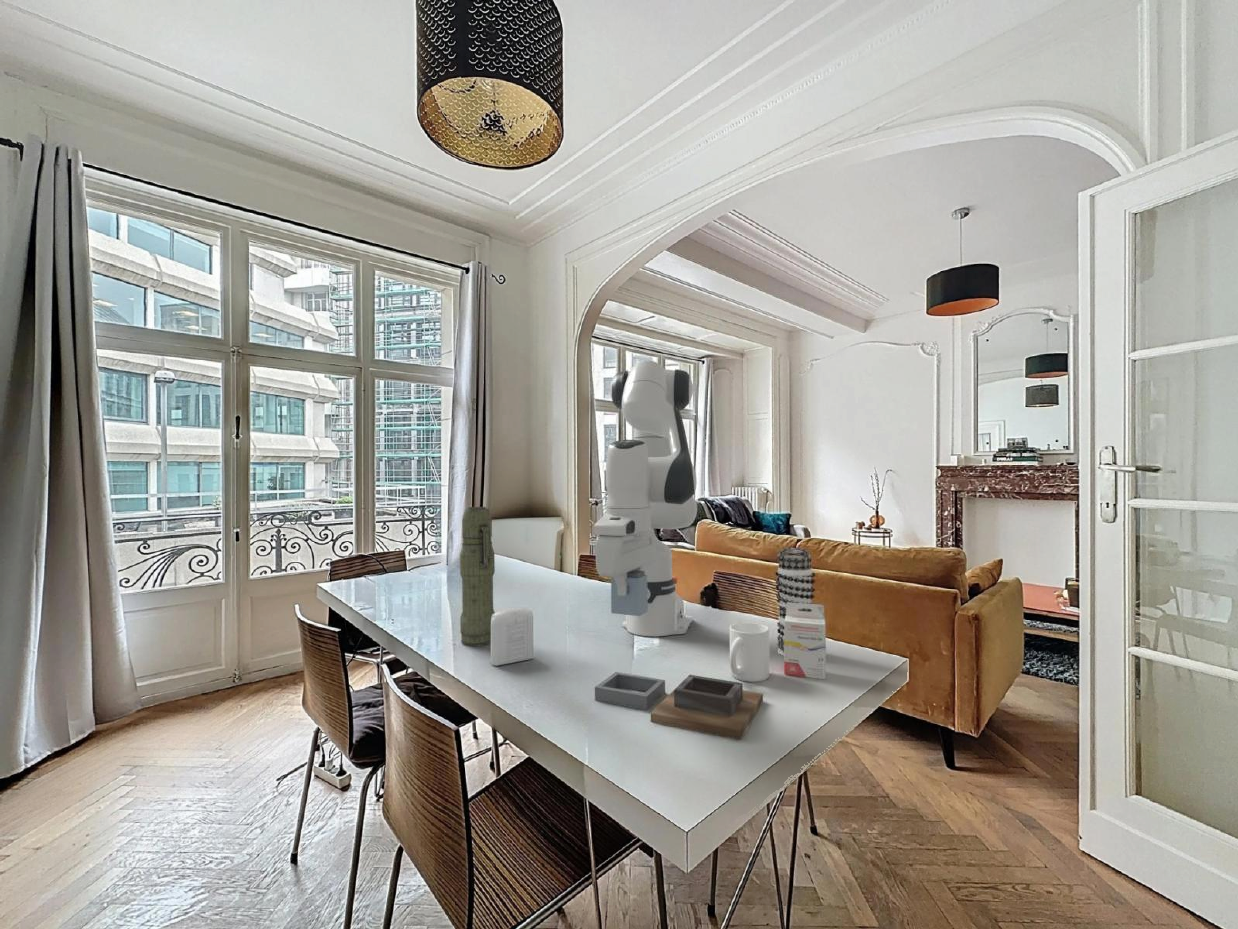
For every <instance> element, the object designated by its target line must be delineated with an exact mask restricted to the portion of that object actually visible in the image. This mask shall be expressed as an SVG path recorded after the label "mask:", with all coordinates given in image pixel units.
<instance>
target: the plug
mask: <svg viewBox="0 0 1238 929" xmlns="http://www.w3.org/2000/svg"><path fill="white" fill-rule="evenodd" d="M626 583H627V585H629V593H628V594H627V595H625V596H619V595H618V593H617V585H616V582H615V580H614V577H610V594H611V596H610V600H611V602H610V604H611V606H610V608H611V614H614V615H615V614H616V615H618V614H619V615H623V616H624V615H625V616H626V615H632V616H641V615H642V614H644V613H646V612H648V598H647V575H645V572H644V571H636V570H632V571H629V572H627V578H626Z"/></svg>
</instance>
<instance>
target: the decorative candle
mask: <svg viewBox="0 0 1238 929" xmlns="http://www.w3.org/2000/svg"><path fill="white" fill-rule="evenodd" d="M776 556H777V557H778V566H777V572H775V576H776V579H775V583H776V585H775V590H776V591H778V592H777V593H776V598H777V600H776V604H777V605H778V610H779V614H778V622H777V633H778V634H779V635H778V636H777V641H778V642H777V647H778V649H777V652H778V653H777V654H779V655H780V654H781V655H780V656H782V655H783V657H784V622H785V616H786V603H787V602H790V603H804V604H815V603H814V602H813V601H812V600H813V599H815V598H816V596H815V594H813V592H815V591H816V589H815V588H814V587H813V586H812V585H814V584H815V583H816V580H815V579H814V577H816V573H815V572H813V568H812V557H813V556H812V554H810V553H809V551H808V550H807V549H806V548H802V547H784V548H782V549H781V550H780V551H779V553H777V554H776ZM798 610H799V611H805V612H811V611H812V610H811V609H807V608H805V607H804V608H799V609H798Z"/></svg>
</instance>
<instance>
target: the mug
mask: <svg viewBox="0 0 1238 929" xmlns="http://www.w3.org/2000/svg"><path fill="white" fill-rule="evenodd" d="M770 669H771V667H770V629H769V627H768V626H767V625H765V624H761V623H756V622H736V623H733V624H730V625H729V671H730V674H731V676H732V677H733V678H734V679H736V680H738V681H742V682H748V683H760V682H763V681H766V680H767V679H768V678H769V677H770V671H771V670H770Z"/></svg>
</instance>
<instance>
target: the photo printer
mask: <svg viewBox="0 0 1238 929" xmlns="http://www.w3.org/2000/svg"><path fill="white" fill-rule="evenodd" d="M532 659H534V613H533V611H532V609H530V608H528V607H527V608H526V607H519V606H518V607H517V606H516V607H508V608H504V609H502V610H499V611H497V612H495V614H493V615H492V617H491V643H490V664H491V665H492V666H502V665H503V666H504V665H508V664H513V663H518V662H523V661H527V660H532Z"/></svg>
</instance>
